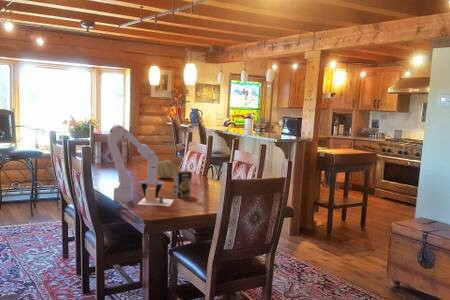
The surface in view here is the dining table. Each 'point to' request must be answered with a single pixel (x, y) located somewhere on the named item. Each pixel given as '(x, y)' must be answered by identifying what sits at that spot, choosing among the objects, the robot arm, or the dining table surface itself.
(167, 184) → the dining table surface
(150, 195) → the peach cube
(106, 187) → the dining table surface
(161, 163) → the cantaloupe
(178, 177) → the coffee box
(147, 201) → the base plate
